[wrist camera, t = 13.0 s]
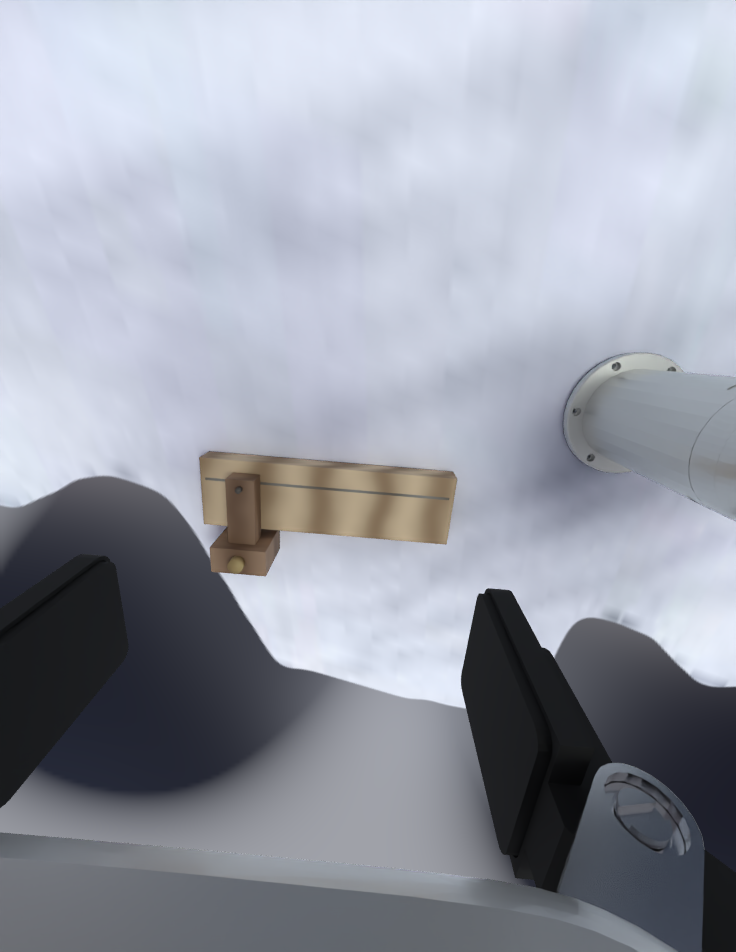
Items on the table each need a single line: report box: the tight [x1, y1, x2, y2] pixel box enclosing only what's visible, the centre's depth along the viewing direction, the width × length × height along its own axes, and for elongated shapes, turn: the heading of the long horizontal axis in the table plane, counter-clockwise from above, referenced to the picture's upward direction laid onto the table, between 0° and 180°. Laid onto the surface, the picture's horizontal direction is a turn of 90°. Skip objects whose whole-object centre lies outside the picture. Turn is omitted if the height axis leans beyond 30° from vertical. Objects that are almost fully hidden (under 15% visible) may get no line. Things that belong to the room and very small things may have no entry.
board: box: [199, 451, 457, 544], centre depth 43 cm, size 28×8×2 cm, turn 86°
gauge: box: [210, 472, 280, 576], centre depth 42 cm, size 6×11×7 cm, turn 176°
